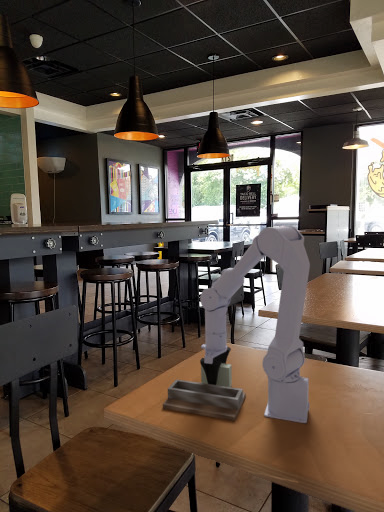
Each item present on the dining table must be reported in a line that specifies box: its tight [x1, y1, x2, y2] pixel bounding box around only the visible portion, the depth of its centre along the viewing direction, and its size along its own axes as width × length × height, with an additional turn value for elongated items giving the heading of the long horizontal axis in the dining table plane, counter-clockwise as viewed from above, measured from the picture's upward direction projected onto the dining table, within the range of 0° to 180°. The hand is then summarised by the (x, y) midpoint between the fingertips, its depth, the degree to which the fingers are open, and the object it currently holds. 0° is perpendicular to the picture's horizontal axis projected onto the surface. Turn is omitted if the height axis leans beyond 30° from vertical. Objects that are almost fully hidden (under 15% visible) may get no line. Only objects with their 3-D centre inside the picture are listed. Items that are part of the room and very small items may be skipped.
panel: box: [200, 363, 233, 387], centre depth 102 cm, size 8×2×6 cm, turn 70°
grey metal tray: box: [162, 378, 247, 422], centre depth 93 cm, size 18×12×4 cm, turn 70°
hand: (216, 378), depth 102 cm, fingers open, 7 cm apart
